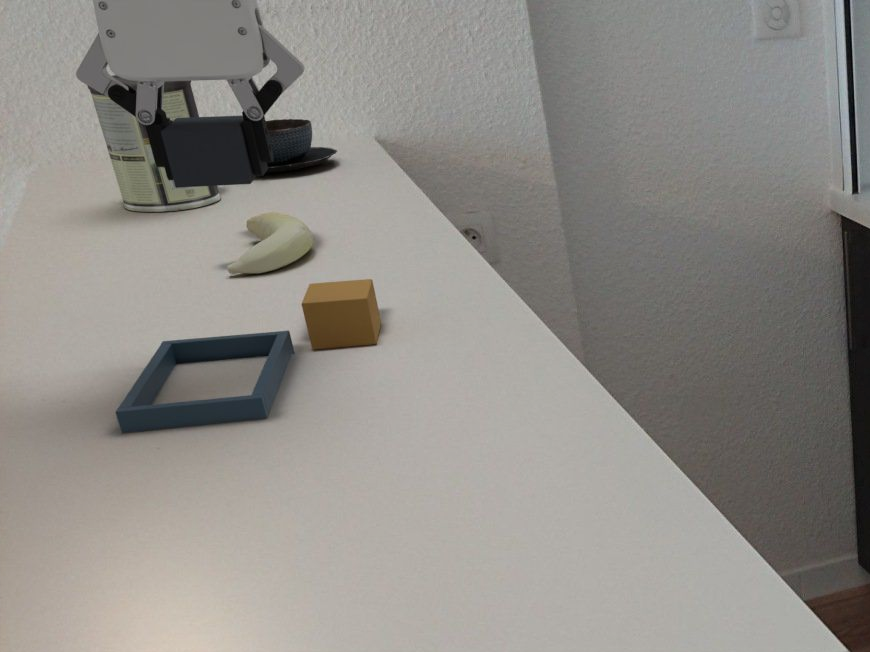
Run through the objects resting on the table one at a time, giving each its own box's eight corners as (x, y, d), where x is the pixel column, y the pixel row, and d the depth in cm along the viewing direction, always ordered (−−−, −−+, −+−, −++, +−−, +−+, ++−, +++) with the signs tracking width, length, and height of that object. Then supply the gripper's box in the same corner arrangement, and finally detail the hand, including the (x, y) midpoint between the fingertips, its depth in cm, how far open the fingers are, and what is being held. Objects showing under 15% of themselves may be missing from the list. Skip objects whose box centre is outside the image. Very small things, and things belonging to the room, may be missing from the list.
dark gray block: (251, 184, 95) (237, 128, 93) (175, 187, 94) (160, 131, 92) (261, 168, 100) (249, 115, 98) (190, 171, 99) (176, 117, 97)
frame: (270, 430, 91) (261, 397, 90) (125, 445, 89) (114, 411, 87) (296, 359, 104) (289, 330, 103) (171, 371, 102) (162, 341, 101)
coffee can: (165, 191, 158) (132, 70, 151) (240, 195, 156) (210, 73, 150) (101, 210, 149) (63, 82, 142) (180, 214, 147) (145, 86, 141)
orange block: (376, 344, 108) (367, 298, 106) (312, 350, 106) (301, 303, 105) (381, 323, 113) (372, 278, 111) (319, 328, 111) (309, 283, 110)
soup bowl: (363, 159, 176) (351, 103, 172) (283, 184, 162) (269, 123, 158) (269, 154, 178) (255, 98, 175) (182, 177, 165) (166, 117, 161)
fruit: (323, 235, 139) (317, 205, 138) (307, 272, 127) (299, 238, 125) (251, 240, 137) (243, 209, 136) (227, 278, 125) (218, 244, 123)
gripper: (294, -94, 94) (345, 159, 102) (25, -96, 89) (102, 170, 97) (281, -91, 88) (337, 178, 96) (-9, -93, 83) (77, 191, 91)
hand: (218, 172), depth 97 cm, fingers closed on dark gray block, 5 cm apart
